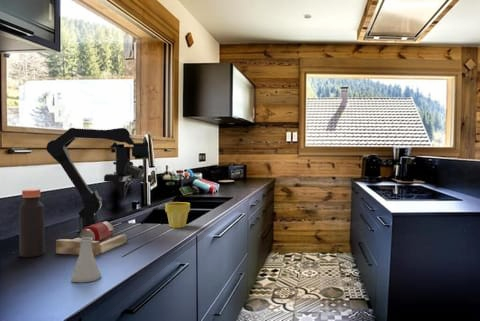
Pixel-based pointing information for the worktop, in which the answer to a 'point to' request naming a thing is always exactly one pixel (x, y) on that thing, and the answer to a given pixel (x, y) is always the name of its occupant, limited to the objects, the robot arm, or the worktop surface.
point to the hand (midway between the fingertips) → (123, 197)
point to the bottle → (31, 224)
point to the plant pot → (177, 213)
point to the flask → (86, 264)
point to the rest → (74, 245)
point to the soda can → (98, 231)
